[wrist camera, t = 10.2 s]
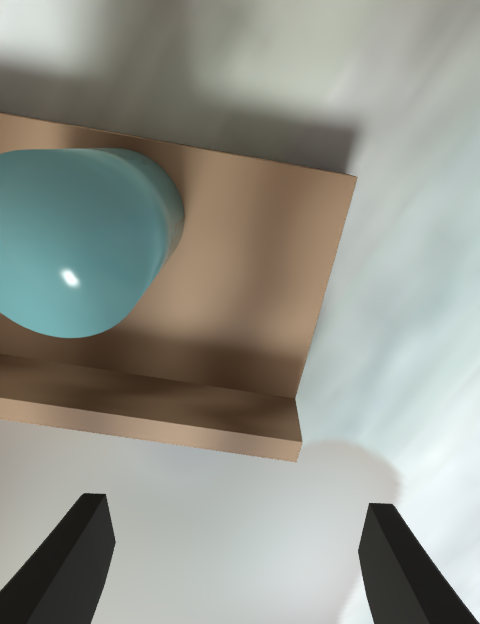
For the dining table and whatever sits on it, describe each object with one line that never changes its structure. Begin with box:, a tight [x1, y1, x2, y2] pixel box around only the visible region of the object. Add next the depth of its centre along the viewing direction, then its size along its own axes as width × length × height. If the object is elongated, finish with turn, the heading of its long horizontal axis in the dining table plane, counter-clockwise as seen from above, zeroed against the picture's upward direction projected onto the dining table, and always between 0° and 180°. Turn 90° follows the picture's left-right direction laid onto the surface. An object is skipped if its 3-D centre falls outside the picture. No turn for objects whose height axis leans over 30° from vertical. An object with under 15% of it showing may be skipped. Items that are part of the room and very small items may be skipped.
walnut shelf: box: [0, 112, 357, 462], centre depth 16 cm, size 18×12×5 cm, turn 81°
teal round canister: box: [0, 148, 185, 338], centre depth 12 cm, size 5×5×6 cm
